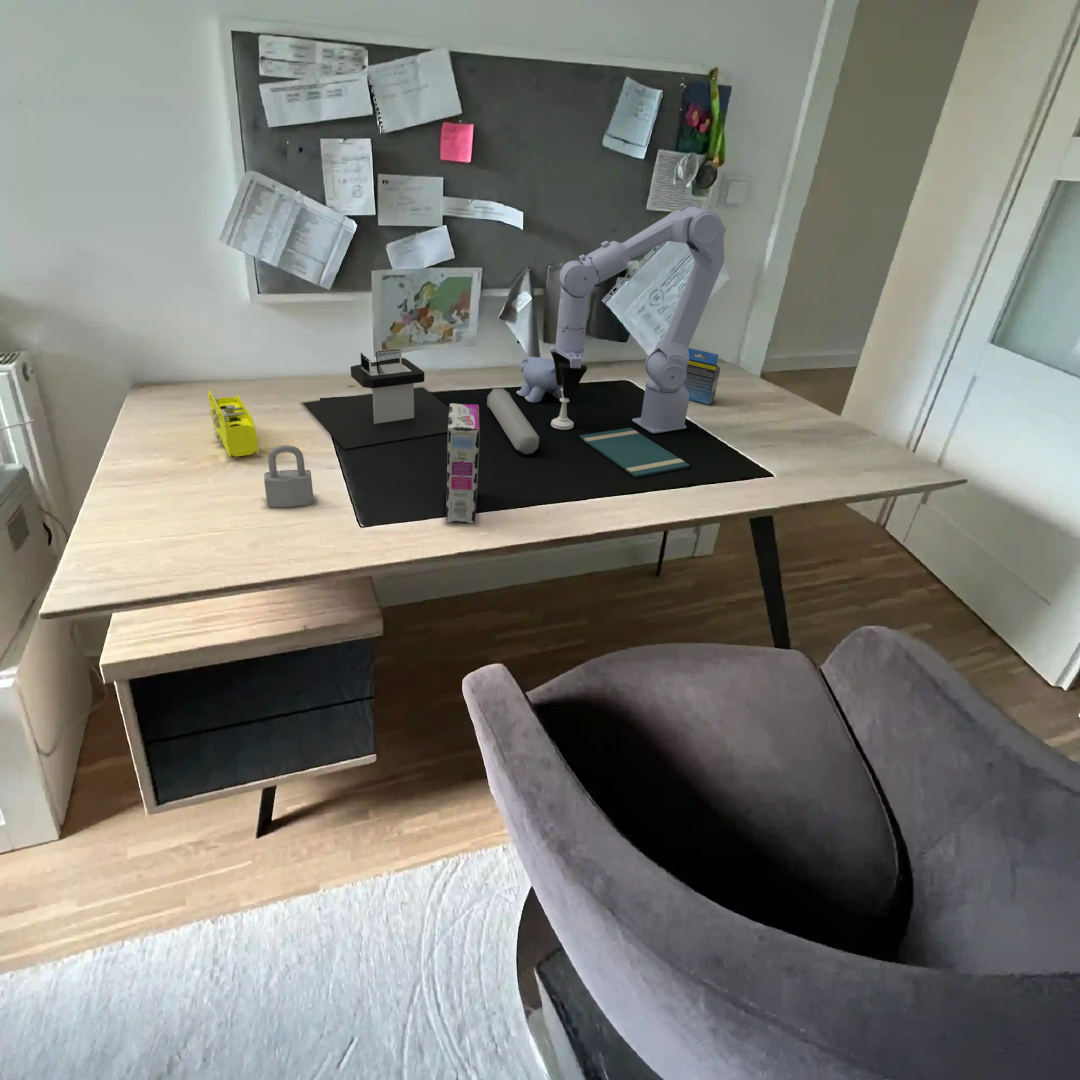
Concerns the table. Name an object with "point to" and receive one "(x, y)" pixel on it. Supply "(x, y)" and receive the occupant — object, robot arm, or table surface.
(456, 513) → the candy bar box
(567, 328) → the robot arm
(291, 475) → the padlock
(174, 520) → the table surface
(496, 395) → the tube
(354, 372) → the black-topped pedestal
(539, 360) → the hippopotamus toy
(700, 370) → the blue retail box
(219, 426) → the yellow toy chassis
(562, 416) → the chess piece
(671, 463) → the towel
